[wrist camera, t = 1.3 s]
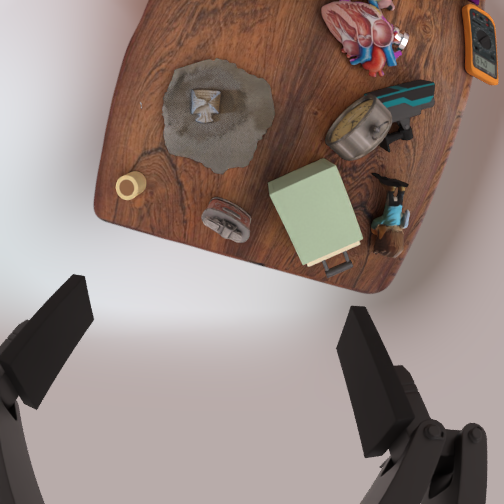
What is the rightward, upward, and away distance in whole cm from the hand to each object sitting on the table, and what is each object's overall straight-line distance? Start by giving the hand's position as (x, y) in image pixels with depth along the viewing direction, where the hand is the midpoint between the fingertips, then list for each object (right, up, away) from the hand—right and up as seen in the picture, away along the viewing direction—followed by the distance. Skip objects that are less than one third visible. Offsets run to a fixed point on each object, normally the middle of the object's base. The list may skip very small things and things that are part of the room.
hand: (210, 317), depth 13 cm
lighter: (-2, +10, +39) cm, 40 cm away
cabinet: (+12, +12, +37) cm, 41 cm away
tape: (-19, +16, +36) cm, 44 cm away
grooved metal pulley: (+26, +40, +24) cm, 53 cm away
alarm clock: (+18, +24, +32) cm, 44 cm away
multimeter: (+48, +46, +20) cm, 70 cm away
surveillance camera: (+30, +23, +30) cm, 48 cm away
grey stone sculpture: (-5, +25, +32) cm, 41 cm away
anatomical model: (+16, +43, +17) cm, 49 cm away
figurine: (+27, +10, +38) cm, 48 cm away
